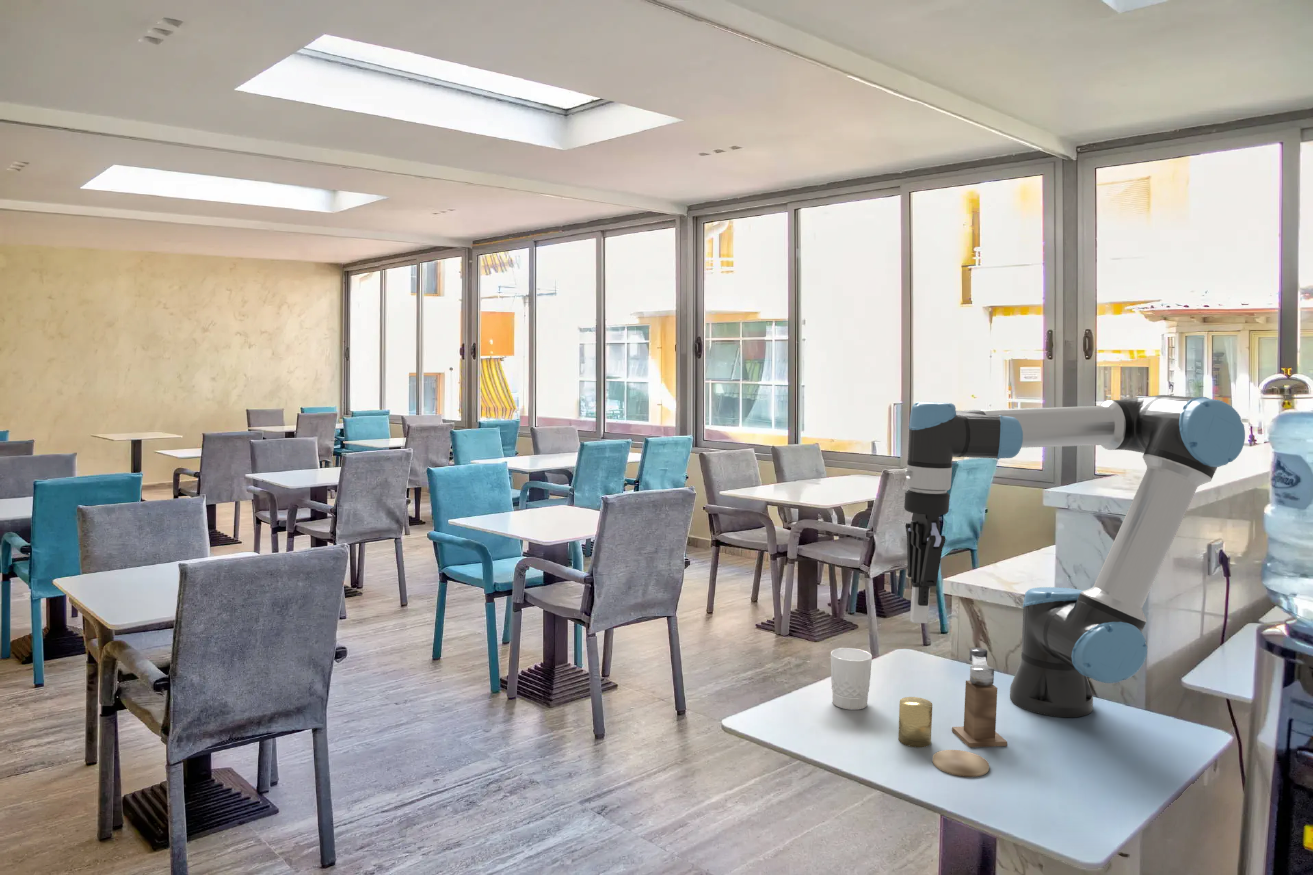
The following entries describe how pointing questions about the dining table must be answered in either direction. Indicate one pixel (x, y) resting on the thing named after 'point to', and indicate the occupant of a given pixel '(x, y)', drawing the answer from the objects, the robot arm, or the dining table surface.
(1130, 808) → the dining table surface
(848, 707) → the white cup
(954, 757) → the coaster
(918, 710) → the brass cylinder
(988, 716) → the post
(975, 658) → the lever
